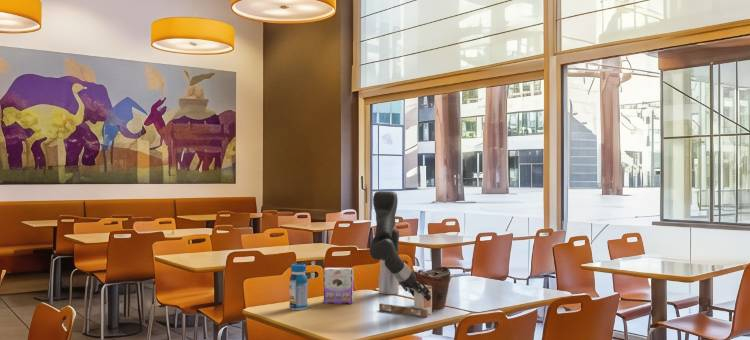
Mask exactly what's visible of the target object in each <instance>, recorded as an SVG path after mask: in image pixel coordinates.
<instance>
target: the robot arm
mask: <svg viewBox="0 0 750 340" xmlns="http://www.w3.org/2000/svg"><path fill="white" fill-rule="evenodd" d="M398 200H399V199H398V193H397V192H395V191H392V190H387V191H386V190H385V191H384V190H378V191H376V192H374V194H373V197H372V204H373V205H372V206H373V209H374V212H375V221H376V227H375V235H374V237H373V238H372V240H371V243H370V245H369V253H370V254H369V255H370V257H372V258H373V260H376V261H379V260H380V273H379V274H378V293H379V294H382V295H398V294H399V285H400V286H401V287H402V289H403V290H404V291H405V292H408V293H409V294H410V295H412V297H413V298H414V291H416V292H417V293H418V294H422V295H423V296H424V297H425V298H426V300H427V301H430V299H431V296H430V295H429V294H428V293H429V292H430V291H429V290H428V289H427V287H426V286H425V285H424V284H423V283H421V284H419V283H418V282H417V281H416V275H415V274H414V273H413V272H412V271H413V270H412V269H411V268H410V267H409V266H408V264H406V263H405V262H404V261H403V259H402V258H401V257H400V256H399V243H400V242H399V241H400V231H399V230H398V228H395V226H396V214H397V208H398ZM419 289H420V291H418V290H419ZM421 291H422V292H423V293H422V292H421Z"/></svg>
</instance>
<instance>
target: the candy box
mask: <svg viewBox="0 0 750 340" xmlns="http://www.w3.org/2000/svg"><path fill="white" fill-rule="evenodd" d="M353 303H354V268H353V267H324V268H323V304H332V305H333V304H337V305H339V304H340V305H341V304H345V305H346V304H347V305H349V304H353Z"/></svg>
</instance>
